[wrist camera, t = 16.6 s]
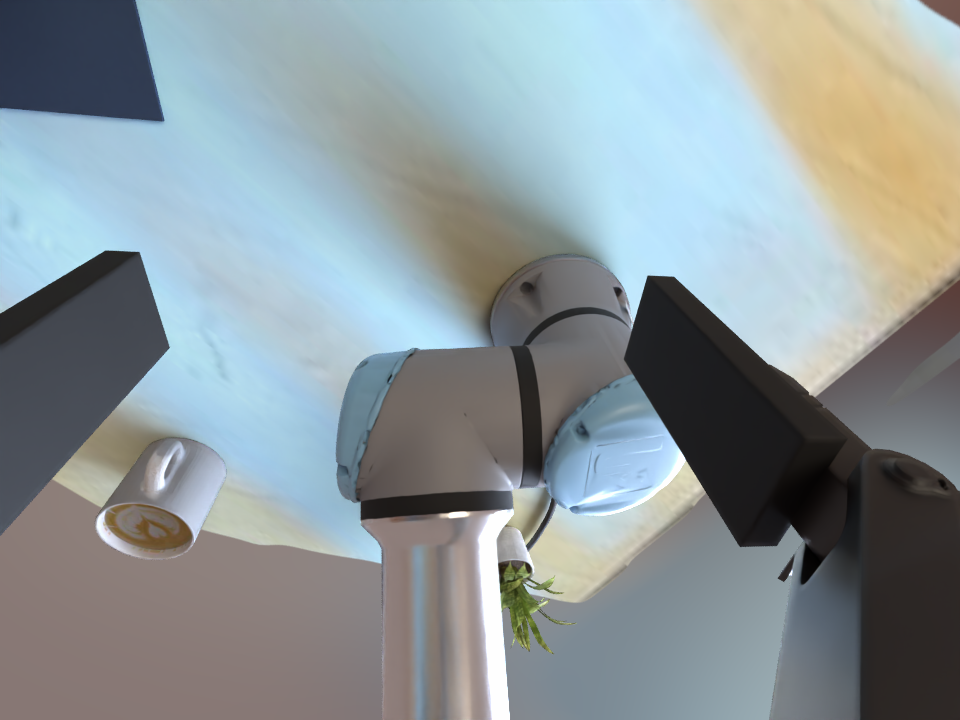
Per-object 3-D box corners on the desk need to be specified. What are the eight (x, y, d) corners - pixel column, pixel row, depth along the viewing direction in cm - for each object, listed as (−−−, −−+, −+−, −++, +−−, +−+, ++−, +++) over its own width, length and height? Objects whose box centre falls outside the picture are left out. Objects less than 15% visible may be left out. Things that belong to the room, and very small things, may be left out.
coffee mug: (216, 501, 65) (183, 568, 56) (135, 479, 61) (88, 547, 53) (243, 434, 59) (211, 498, 50) (155, 406, 55) (106, 469, 47)
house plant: (575, 534, 75) (606, 642, 61) (511, 575, 80) (527, 683, 66) (514, 495, 69) (534, 604, 55) (449, 542, 73) (453, 654, 60)
